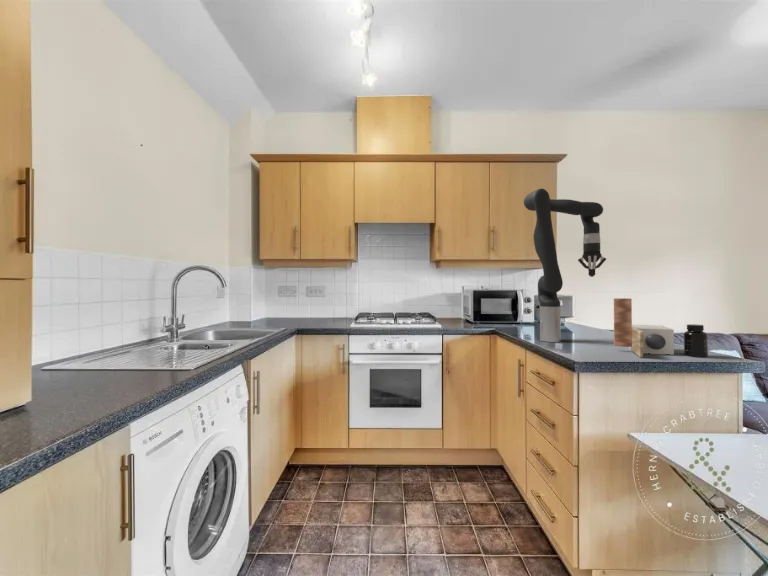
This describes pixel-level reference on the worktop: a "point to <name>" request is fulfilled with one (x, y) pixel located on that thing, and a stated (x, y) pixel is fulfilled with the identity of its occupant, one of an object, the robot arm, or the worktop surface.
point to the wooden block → (626, 327)
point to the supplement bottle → (695, 341)
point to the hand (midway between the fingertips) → (591, 276)
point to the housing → (657, 339)
